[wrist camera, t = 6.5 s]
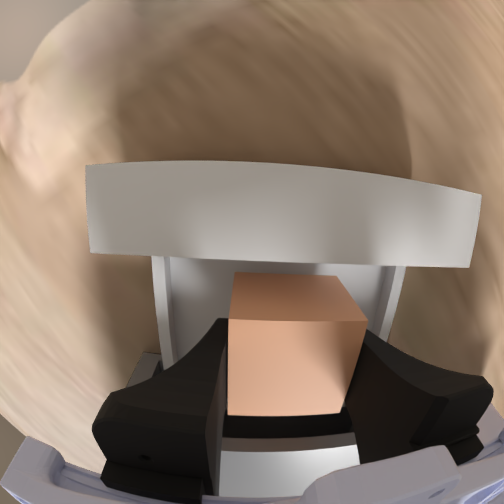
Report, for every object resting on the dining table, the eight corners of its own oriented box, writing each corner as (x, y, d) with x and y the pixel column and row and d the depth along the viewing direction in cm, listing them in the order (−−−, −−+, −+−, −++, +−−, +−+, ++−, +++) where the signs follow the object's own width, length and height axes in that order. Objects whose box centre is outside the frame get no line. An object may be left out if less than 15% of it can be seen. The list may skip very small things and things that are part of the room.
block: (336, 275, 13) (368, 320, 9) (320, 356, 14) (339, 412, 10) (234, 271, 12) (228, 318, 9) (232, 355, 14) (227, 414, 10)
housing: (388, 356, 17) (432, 427, 10) (335, 473, 22) (347, 525, 15) (143, 352, 17) (105, 432, 10) (174, 472, 21) (164, 527, 15)
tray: (423, 182, 13) (481, 194, 8) (373, 388, 17) (397, 438, 12) (135, 162, 12) (85, 165, 8) (156, 386, 16) (137, 441, 12)
